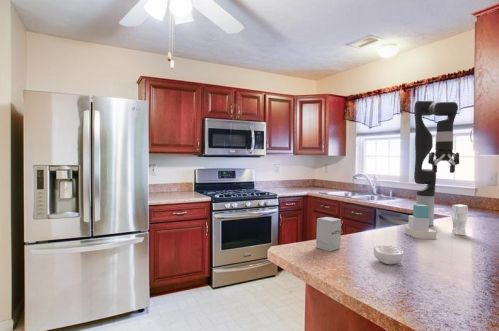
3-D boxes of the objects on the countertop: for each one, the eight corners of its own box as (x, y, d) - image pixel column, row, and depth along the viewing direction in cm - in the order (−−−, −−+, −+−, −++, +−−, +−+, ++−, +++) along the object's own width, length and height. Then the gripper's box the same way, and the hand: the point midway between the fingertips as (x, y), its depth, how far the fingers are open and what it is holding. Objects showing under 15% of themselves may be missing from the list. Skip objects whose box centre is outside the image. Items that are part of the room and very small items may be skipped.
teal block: (413, 216, 152) (413, 204, 152) (423, 216, 152) (423, 204, 152) (418, 217, 147) (418, 205, 147) (428, 218, 147) (428, 206, 147)
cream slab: (404, 234, 154) (405, 226, 154) (423, 234, 155) (424, 226, 155) (416, 239, 144) (416, 231, 144) (436, 239, 145) (436, 231, 145)
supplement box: (330, 252, 120) (331, 221, 120) (315, 247, 126) (316, 218, 125) (340, 248, 125) (341, 219, 124) (326, 244, 130) (326, 216, 130)
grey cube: (408, 226, 154) (408, 215, 154) (423, 227, 153) (423, 216, 153) (413, 229, 147) (413, 217, 147) (428, 230, 146) (429, 218, 146)
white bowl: (404, 260, 111) (404, 242, 111) (402, 270, 101) (402, 250, 101) (375, 255, 116) (375, 238, 116) (370, 264, 106) (371, 246, 106)
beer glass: (448, 232, 157) (448, 204, 157) (456, 231, 160) (456, 204, 160) (462, 236, 151) (463, 206, 150) (470, 234, 154) (471, 206, 153)
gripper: (453, 141, 155) (452, 172, 155) (426, 141, 155) (425, 172, 156) (463, 140, 148) (462, 173, 148) (434, 140, 148) (433, 172, 148)
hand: (443, 172), depth 152 cm, fingers open, 8 cm apart
